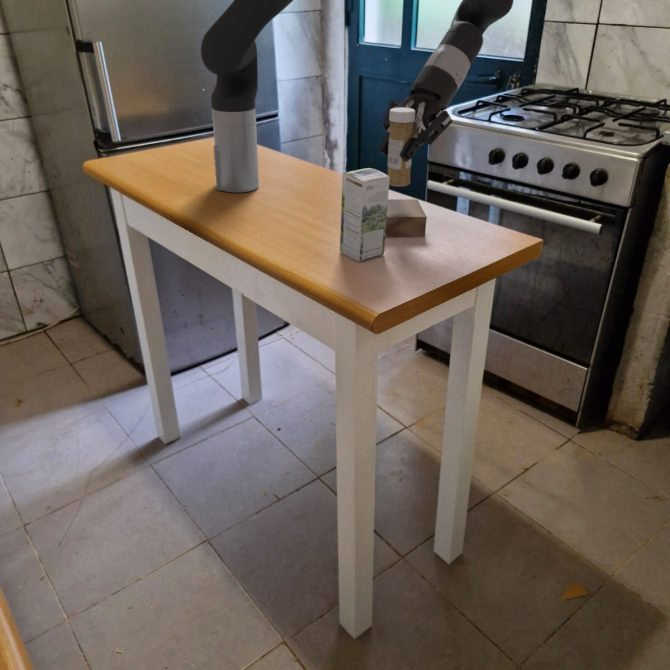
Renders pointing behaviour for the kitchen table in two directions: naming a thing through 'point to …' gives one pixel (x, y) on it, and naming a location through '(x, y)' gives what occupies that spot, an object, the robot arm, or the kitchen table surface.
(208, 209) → the kitchen table surface
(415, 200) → the plinth
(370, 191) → the syrup box
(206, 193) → the kitchen table surface
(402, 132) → the sprinkles bottle
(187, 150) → the kitchen table surface
